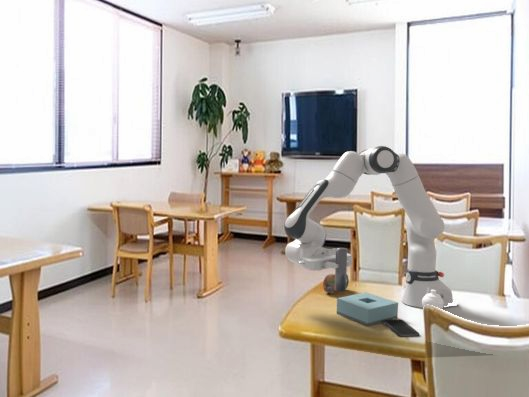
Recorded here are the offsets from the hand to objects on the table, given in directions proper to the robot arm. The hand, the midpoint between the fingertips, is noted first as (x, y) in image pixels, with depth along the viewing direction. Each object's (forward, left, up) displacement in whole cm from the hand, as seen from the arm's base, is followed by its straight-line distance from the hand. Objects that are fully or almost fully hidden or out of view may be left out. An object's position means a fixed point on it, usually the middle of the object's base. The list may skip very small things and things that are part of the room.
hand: (342, 265), depth 178 cm
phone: (-19, +8, -22) cm, 30 cm away
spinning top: (-34, +4, -22) cm, 41 cm away
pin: (0, -1, -9) cm, 9 cm away
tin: (-14, -40, -22) cm, 48 cm away
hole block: (-13, -7, -21) cm, 26 cm away
